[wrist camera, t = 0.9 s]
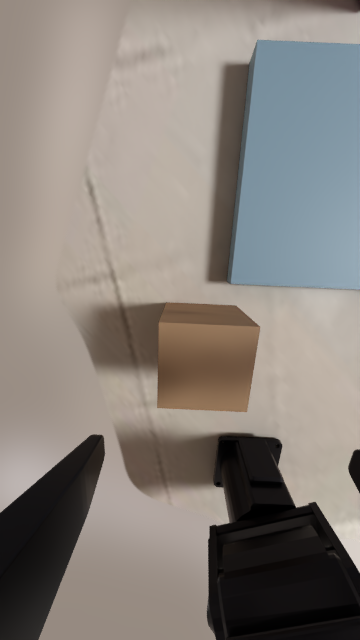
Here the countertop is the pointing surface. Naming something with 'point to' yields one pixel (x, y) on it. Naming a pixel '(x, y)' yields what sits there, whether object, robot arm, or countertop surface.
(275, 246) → the slate board
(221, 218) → the countertop surface
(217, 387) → the walnut cube
